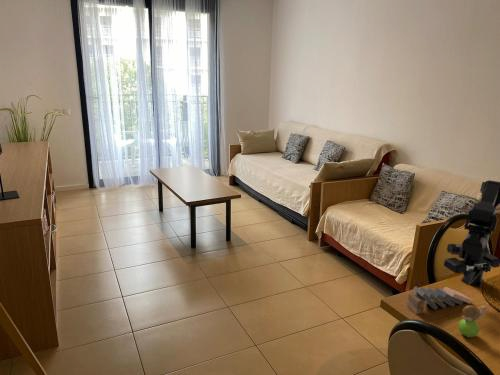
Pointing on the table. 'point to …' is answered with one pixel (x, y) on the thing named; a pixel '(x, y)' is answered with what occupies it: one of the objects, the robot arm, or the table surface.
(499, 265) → the robot arm
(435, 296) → the domino
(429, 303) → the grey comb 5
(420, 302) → the stop block
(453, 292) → the domino
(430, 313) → the table surface
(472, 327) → the snail figurine
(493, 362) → the table surface
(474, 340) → the table surface
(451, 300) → the domino
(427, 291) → the domino
